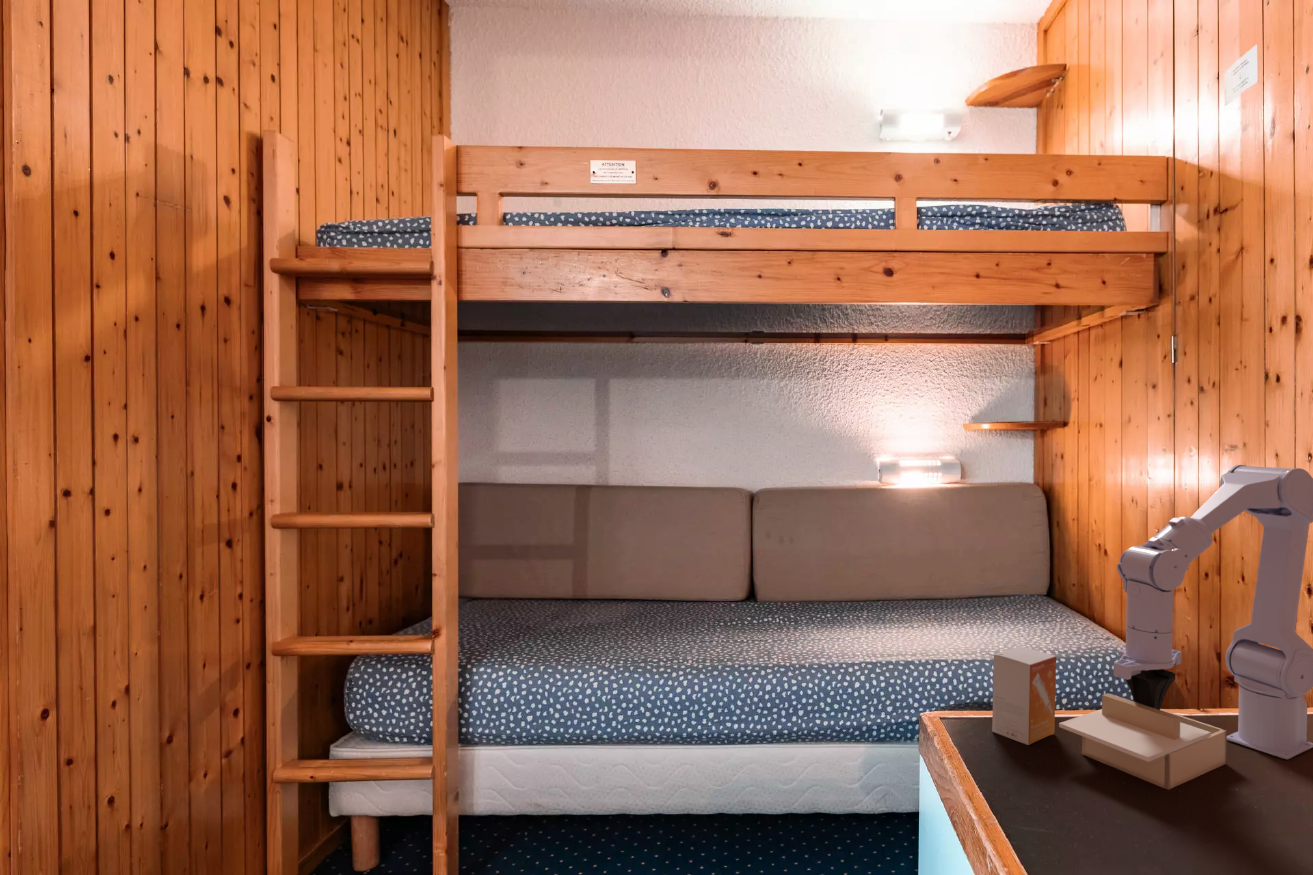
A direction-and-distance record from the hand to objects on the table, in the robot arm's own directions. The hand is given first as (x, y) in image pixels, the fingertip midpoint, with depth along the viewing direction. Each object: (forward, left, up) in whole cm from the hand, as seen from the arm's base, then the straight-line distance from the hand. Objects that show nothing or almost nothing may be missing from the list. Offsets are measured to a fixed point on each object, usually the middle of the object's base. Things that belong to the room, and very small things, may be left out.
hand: (1147, 717), depth 107 cm
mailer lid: (+4, 0, -1) cm, 4 cm away
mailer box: (-2, 0, -7) cm, 7 cm away
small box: (+7, -15, -7) cm, 18 cm away
